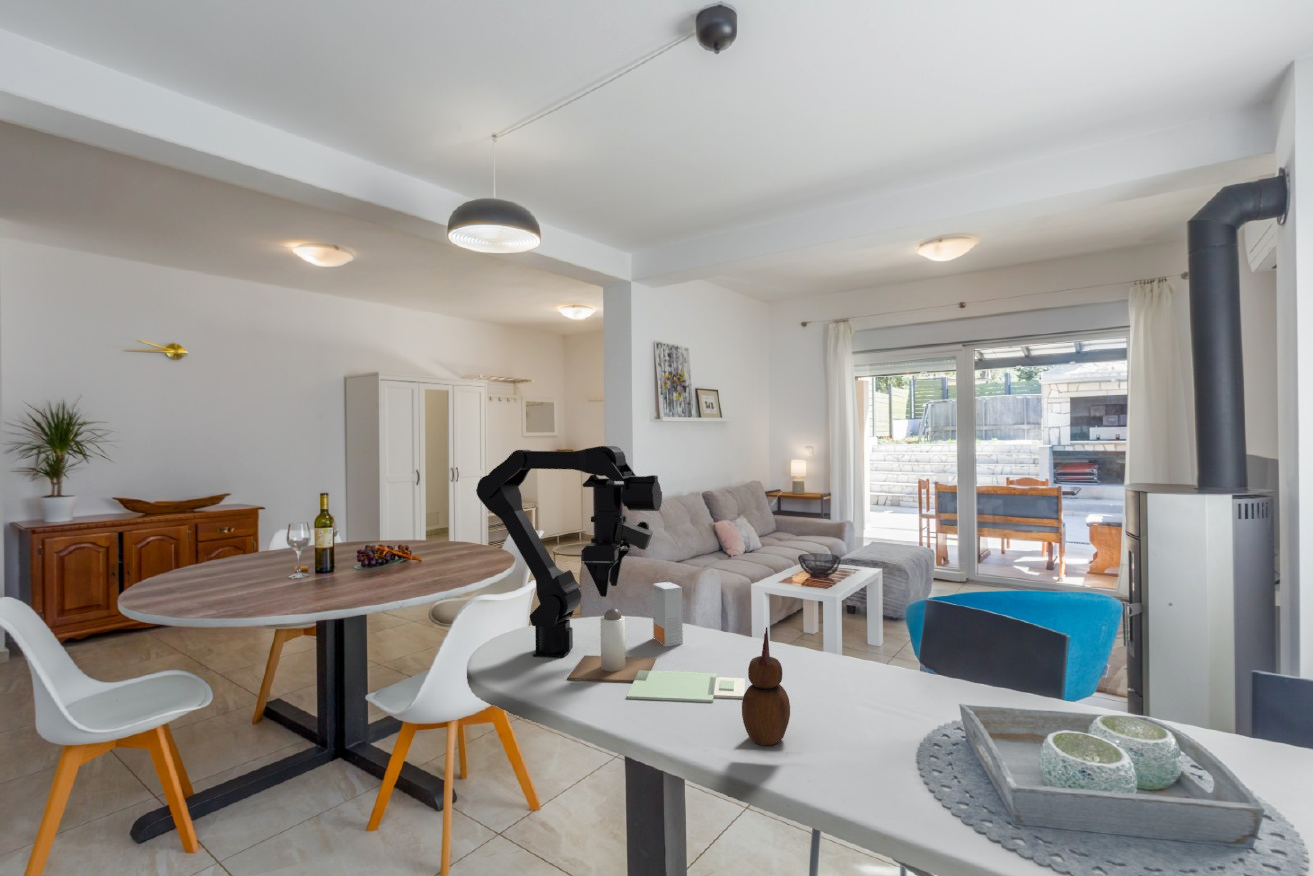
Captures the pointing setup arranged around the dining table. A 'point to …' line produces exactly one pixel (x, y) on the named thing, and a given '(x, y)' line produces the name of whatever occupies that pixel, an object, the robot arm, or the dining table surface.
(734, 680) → the card
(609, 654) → the bottle
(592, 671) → the walnut mat
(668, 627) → the skincare box
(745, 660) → the dining table surface
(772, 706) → the wooden figurine
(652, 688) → the green mat
